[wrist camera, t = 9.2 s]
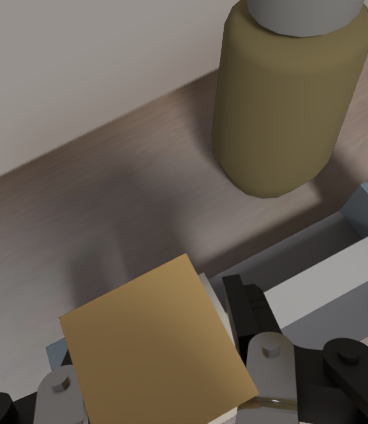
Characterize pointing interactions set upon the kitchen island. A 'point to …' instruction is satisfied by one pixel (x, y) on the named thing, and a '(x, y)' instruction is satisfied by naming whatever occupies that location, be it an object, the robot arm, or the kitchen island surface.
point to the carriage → (157, 352)
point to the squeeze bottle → (285, 89)
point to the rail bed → (296, 263)
